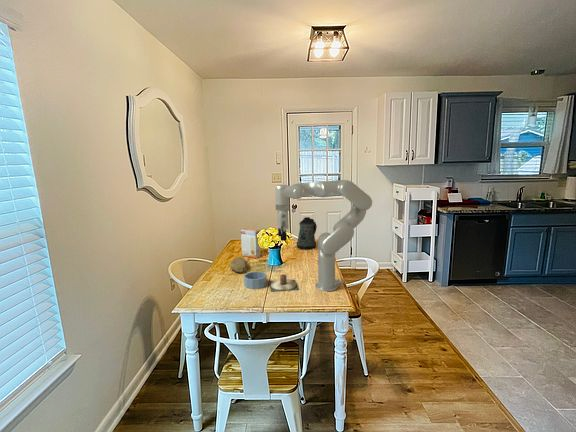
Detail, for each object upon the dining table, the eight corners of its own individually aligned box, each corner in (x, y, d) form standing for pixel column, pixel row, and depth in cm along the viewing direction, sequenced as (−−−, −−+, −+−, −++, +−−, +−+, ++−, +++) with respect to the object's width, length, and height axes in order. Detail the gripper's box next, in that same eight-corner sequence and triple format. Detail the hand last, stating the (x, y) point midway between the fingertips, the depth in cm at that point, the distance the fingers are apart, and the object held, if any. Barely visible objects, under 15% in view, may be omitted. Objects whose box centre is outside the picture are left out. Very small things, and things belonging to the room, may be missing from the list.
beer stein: (294, 249, 257) (294, 219, 252) (300, 243, 275) (299, 215, 271) (314, 250, 252) (314, 220, 248) (318, 244, 270) (318, 215, 266)
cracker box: (261, 256, 237) (260, 229, 234) (256, 259, 232) (255, 231, 229) (246, 254, 245) (245, 228, 241) (241, 256, 240) (240, 229, 236)
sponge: (234, 266, 222) (223, 269, 202) (236, 255, 221) (225, 258, 202) (251, 270, 219) (242, 274, 199) (254, 259, 219) (244, 262, 199)
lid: (294, 279, 190) (294, 270, 189) (298, 289, 175) (298, 279, 174) (269, 281, 188) (269, 271, 187) (271, 291, 173) (271, 281, 172)
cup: (265, 280, 190) (265, 271, 189) (267, 288, 178) (267, 278, 177) (244, 281, 189) (243, 272, 188) (244, 290, 176) (244, 280, 175)
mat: (294, 280, 190) (294, 279, 190) (299, 290, 175) (299, 289, 175) (268, 281, 188) (268, 281, 188) (270, 292, 173) (270, 291, 172)
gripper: (292, 210, 162) (291, 242, 165) (286, 205, 179) (286, 234, 182) (277, 210, 161) (277, 242, 164) (273, 205, 178) (273, 234, 181)
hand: (282, 238), depth 173 cm, fingers open, 9 cm apart
